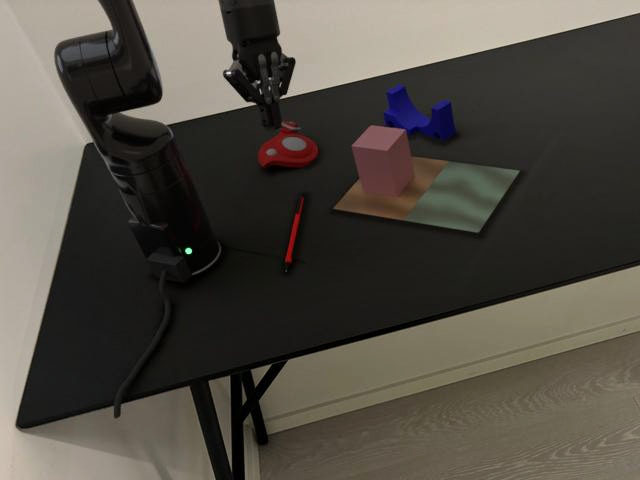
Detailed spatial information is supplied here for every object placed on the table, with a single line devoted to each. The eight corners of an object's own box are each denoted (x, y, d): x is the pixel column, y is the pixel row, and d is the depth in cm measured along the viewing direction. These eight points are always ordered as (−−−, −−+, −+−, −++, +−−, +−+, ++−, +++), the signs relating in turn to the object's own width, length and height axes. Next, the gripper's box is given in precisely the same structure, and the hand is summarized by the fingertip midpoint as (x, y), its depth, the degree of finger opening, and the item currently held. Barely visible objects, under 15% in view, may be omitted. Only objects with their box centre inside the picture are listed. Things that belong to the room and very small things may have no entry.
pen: (306, 196, 130) (304, 190, 130) (290, 273, 117) (288, 267, 116) (301, 196, 130) (299, 190, 130) (283, 274, 117) (281, 268, 116)
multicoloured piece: (479, 235, 118) (478, 232, 117) (333, 211, 126) (332, 208, 126) (520, 173, 128) (520, 170, 127) (382, 155, 136) (382, 152, 136)
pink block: (397, 197, 126) (387, 150, 120) (363, 192, 128) (351, 145, 122) (415, 175, 130) (405, 129, 124) (381, 170, 132) (370, 125, 126)
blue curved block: (386, 128, 142) (379, 95, 138) (405, 116, 144) (399, 84, 140) (437, 148, 136) (431, 114, 132) (455, 135, 138) (450, 102, 134)
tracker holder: (330, 152, 137) (273, 163, 131) (327, 174, 140) (272, 186, 135) (295, 110, 142) (239, 120, 137) (294, 132, 145) (239, 143, 140)
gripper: (261, 1, 124) (285, 120, 132) (192, 10, 114) (222, 139, 122) (299, -3, 120) (321, 120, 128) (231, 6, 111) (259, 139, 118)
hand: (273, 129), depth 125 cm, fingers closed
